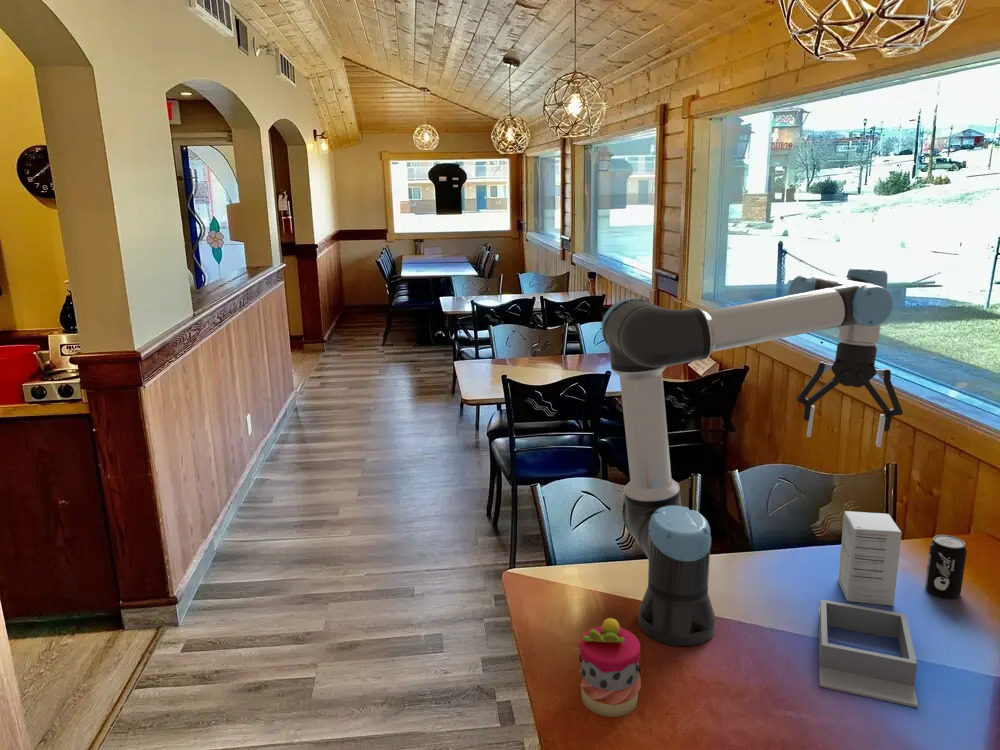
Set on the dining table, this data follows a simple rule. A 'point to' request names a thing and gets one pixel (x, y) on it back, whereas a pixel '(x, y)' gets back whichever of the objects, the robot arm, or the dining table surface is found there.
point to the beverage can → (945, 566)
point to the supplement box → (869, 557)
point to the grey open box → (867, 654)
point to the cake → (610, 669)
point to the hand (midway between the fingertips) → (842, 440)
